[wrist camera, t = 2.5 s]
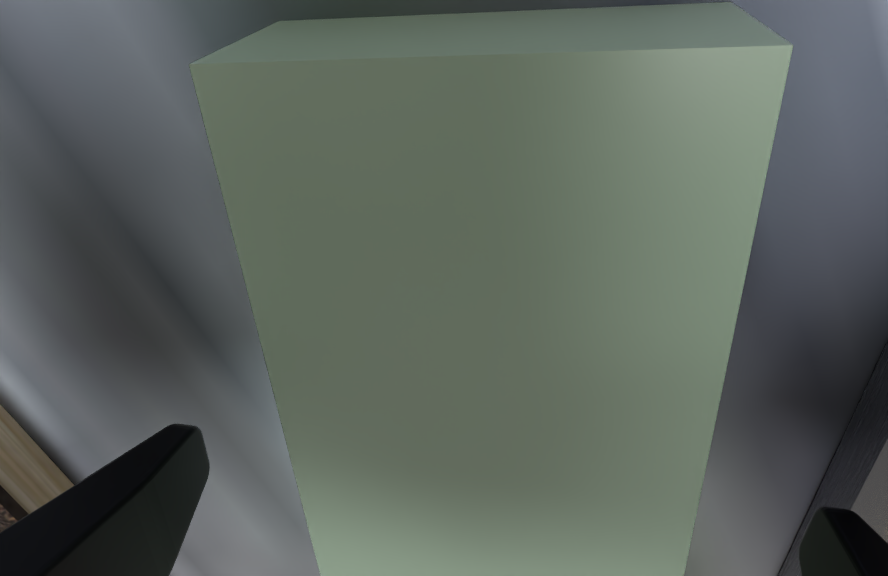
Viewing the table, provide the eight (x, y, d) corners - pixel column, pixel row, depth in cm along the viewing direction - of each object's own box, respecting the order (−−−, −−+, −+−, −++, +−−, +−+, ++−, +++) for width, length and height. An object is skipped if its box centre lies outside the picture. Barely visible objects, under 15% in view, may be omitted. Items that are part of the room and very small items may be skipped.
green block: (725, -4, 8) (792, 45, 6) (638, 573, 15) (654, 716, 12) (288, 16, 9) (189, 63, 7) (381, 548, 16) (346, 676, 13)
